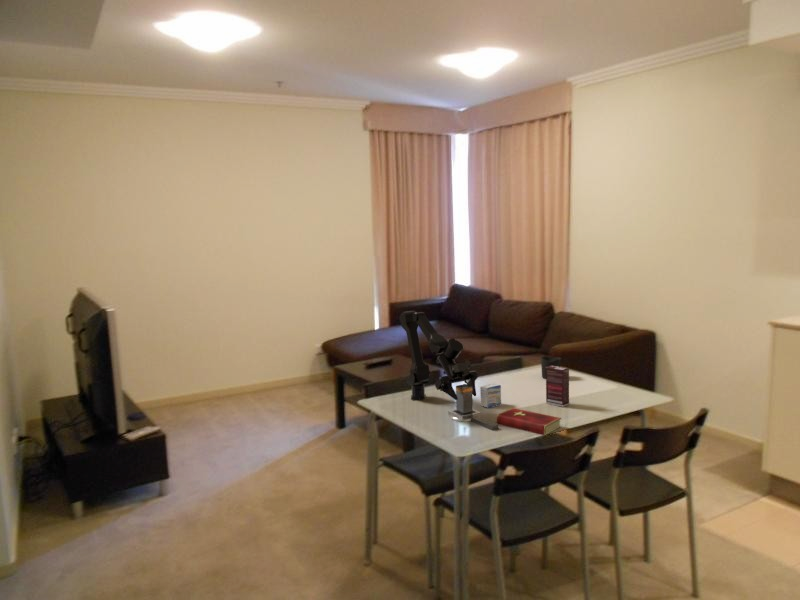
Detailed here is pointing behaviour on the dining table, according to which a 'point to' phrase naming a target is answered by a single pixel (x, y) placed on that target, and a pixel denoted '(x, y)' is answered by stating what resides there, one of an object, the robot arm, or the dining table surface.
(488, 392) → the medicine box
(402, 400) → the dining table surface
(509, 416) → the hardcover book
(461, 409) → the grey orange-banded block
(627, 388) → the dining table surface
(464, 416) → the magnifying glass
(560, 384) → the supplement box
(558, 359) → the pen holder
